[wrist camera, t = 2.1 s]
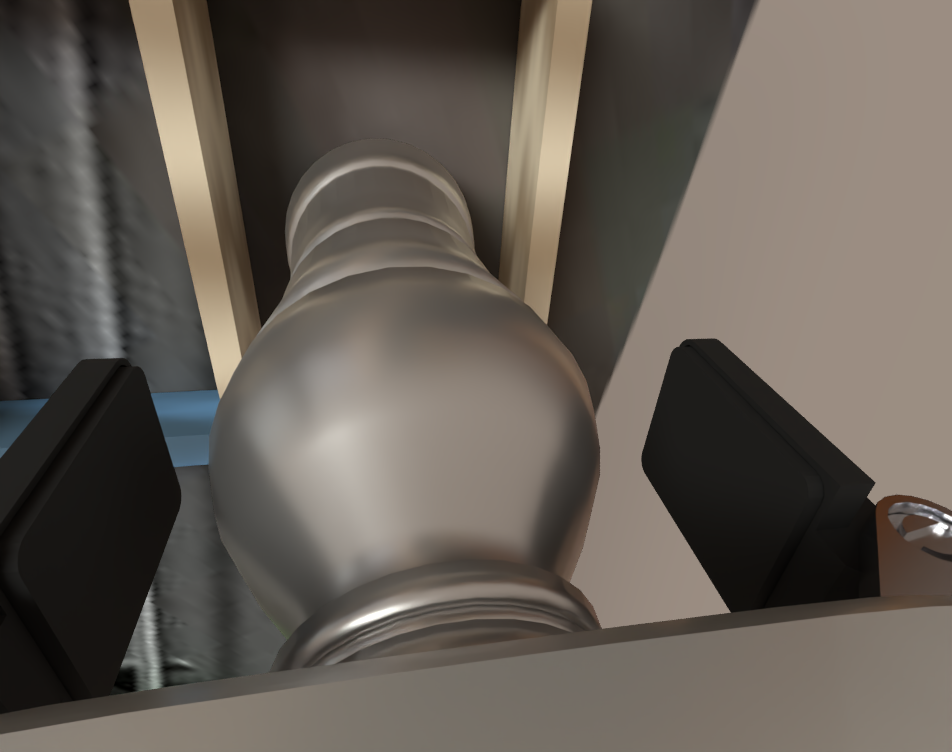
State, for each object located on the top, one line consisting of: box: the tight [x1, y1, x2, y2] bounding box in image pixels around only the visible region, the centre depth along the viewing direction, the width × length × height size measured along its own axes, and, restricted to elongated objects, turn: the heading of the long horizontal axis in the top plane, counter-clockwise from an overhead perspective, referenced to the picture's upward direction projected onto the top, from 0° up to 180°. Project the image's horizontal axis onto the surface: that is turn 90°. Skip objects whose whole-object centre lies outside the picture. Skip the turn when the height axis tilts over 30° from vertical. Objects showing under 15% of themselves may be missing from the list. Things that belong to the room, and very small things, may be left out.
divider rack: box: [0, 0, 592, 467], centre depth 19 cm, size 18×23×4 cm
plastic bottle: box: [209, 139, 602, 673], centre depth 13 cm, size 6×7×20 cm
